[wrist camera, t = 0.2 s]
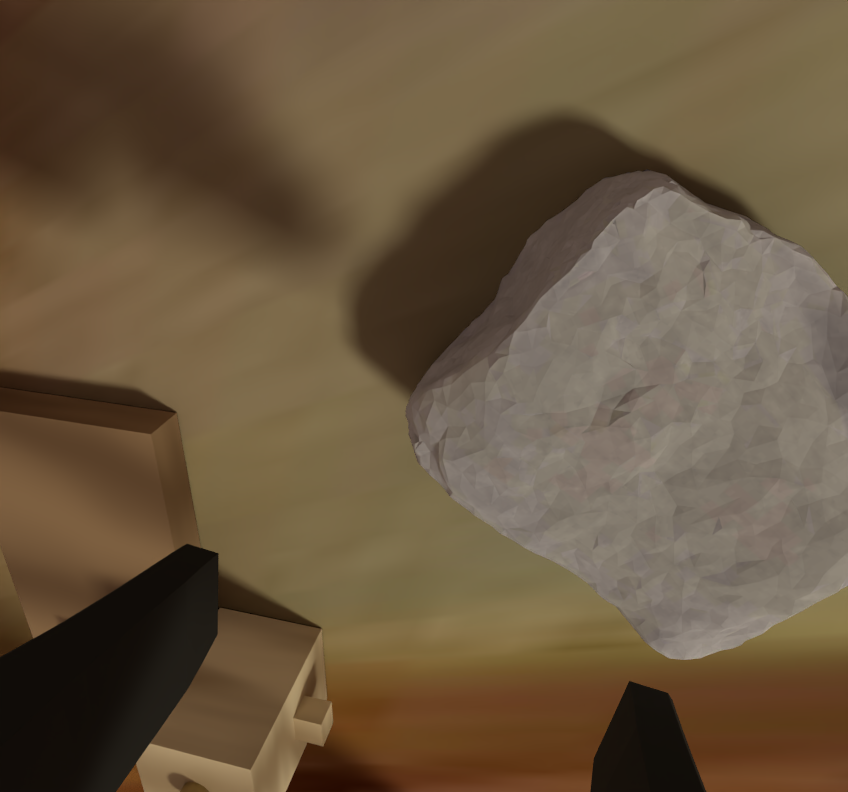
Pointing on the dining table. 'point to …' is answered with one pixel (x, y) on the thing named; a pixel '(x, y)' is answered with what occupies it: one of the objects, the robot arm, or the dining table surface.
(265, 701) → the block
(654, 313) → the stone block
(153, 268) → the dining table surface
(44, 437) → the board
